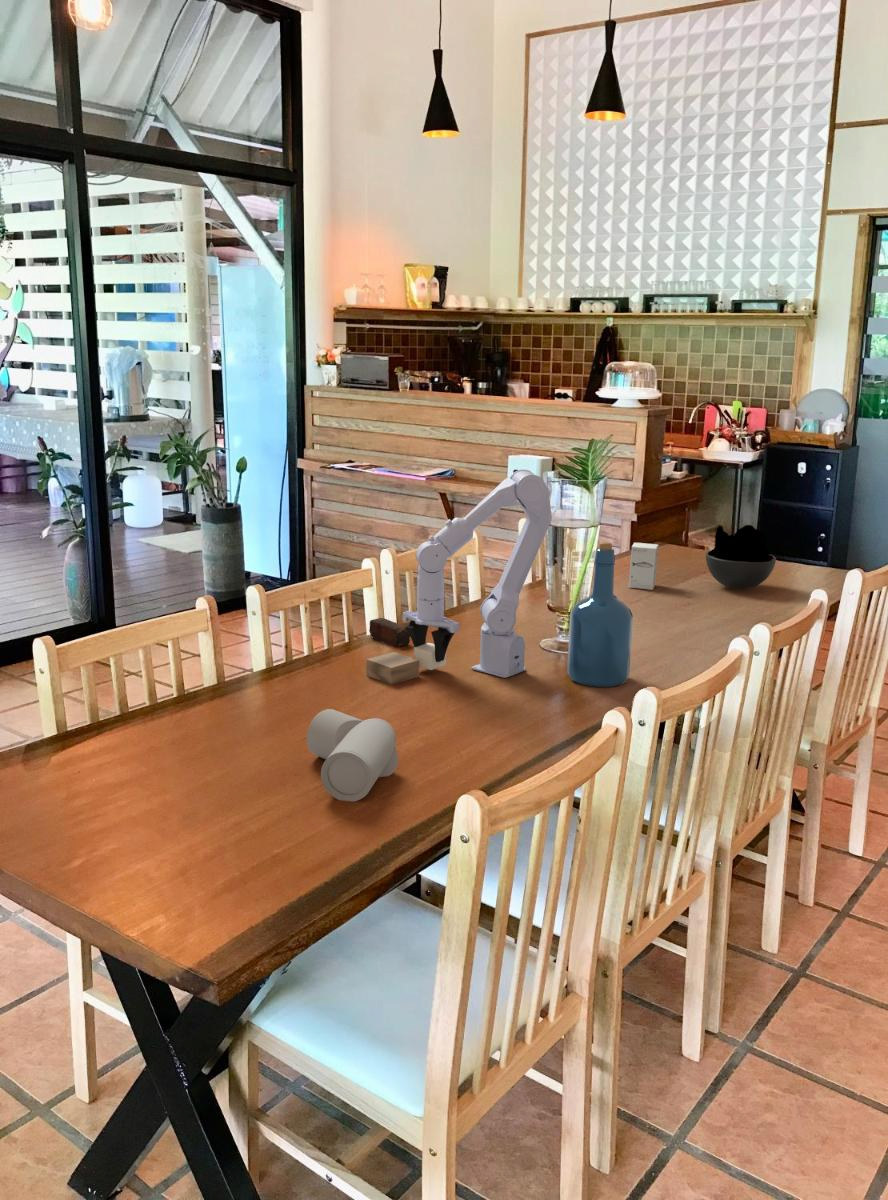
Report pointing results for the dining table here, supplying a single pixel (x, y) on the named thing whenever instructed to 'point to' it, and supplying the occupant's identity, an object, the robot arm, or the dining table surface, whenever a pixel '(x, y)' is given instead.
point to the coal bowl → (740, 558)
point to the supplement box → (643, 566)
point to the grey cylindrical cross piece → (352, 752)
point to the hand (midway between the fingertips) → (430, 658)
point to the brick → (389, 632)
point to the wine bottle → (600, 630)
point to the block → (427, 656)
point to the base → (392, 668)
